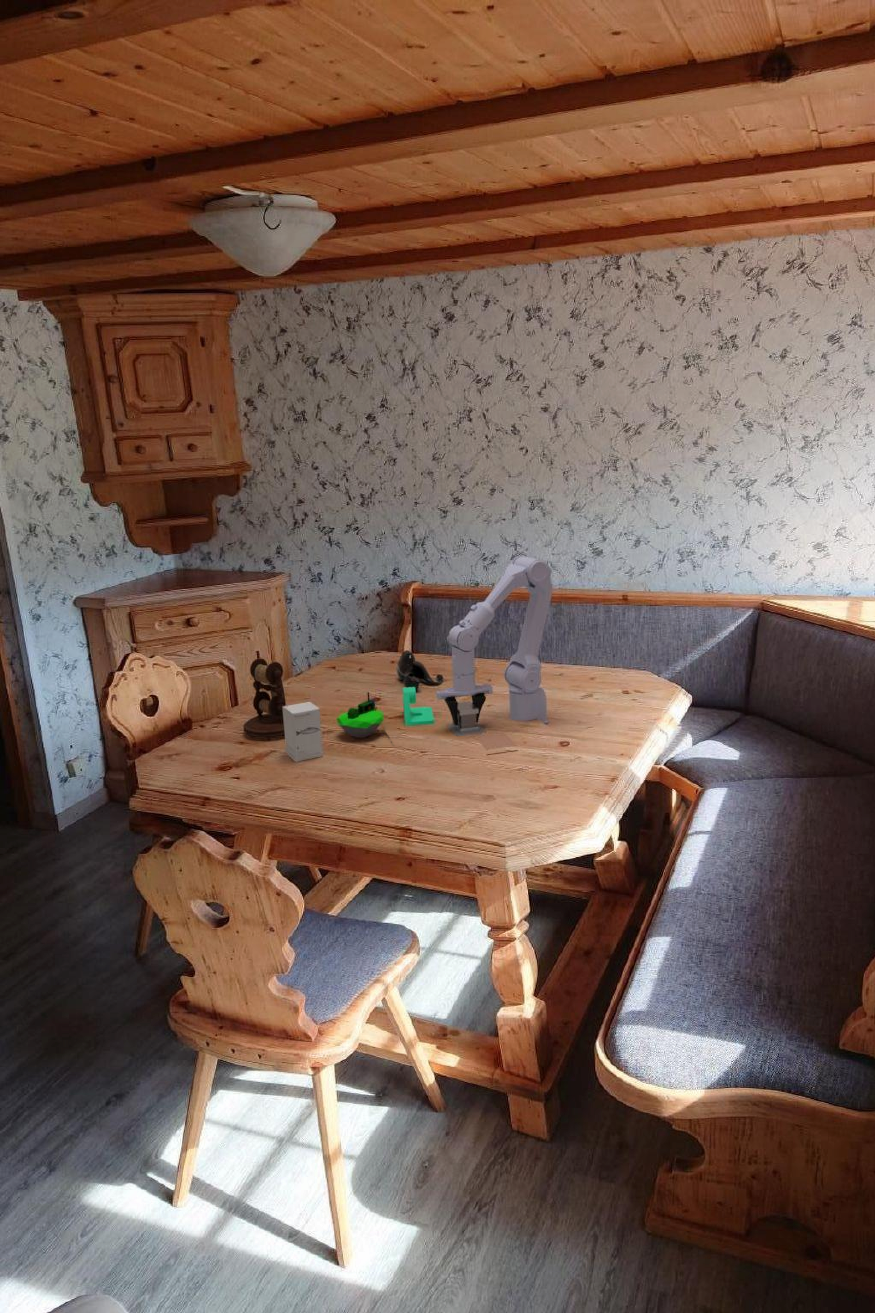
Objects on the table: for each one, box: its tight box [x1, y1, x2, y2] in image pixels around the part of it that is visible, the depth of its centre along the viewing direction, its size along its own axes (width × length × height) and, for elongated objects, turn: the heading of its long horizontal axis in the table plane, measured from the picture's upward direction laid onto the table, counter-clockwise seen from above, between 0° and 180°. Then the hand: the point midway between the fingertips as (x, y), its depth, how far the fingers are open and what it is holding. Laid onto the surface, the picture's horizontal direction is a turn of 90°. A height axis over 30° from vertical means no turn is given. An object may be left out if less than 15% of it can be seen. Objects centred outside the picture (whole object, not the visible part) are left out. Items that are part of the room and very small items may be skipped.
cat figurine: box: [396, 649, 444, 694], centre depth 285 cm, size 10×14×18 cm
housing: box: [453, 700, 479, 733], centre depth 239 cm, size 5×7×6 cm
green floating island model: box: [336, 691, 384, 739], centre depth 241 cm, size 12×12×11 cm
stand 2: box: [474, 732, 519, 756], centre depth 230 cm, size 8×10×2 cm
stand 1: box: [445, 722, 487, 737], centre depth 240 cm, size 8×10×2 cm
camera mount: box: [402, 687, 435, 727], centre depth 249 cm, size 12×8×10 cm, turn 4°
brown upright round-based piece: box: [242, 657, 287, 742], centre depth 245 cm, size 15×15×20 cm
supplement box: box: [282, 701, 324, 763], centre depth 228 cm, size 7×7×13 cm
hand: (465, 722), depth 239 cm, fingers closed on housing, 5 cm apart
